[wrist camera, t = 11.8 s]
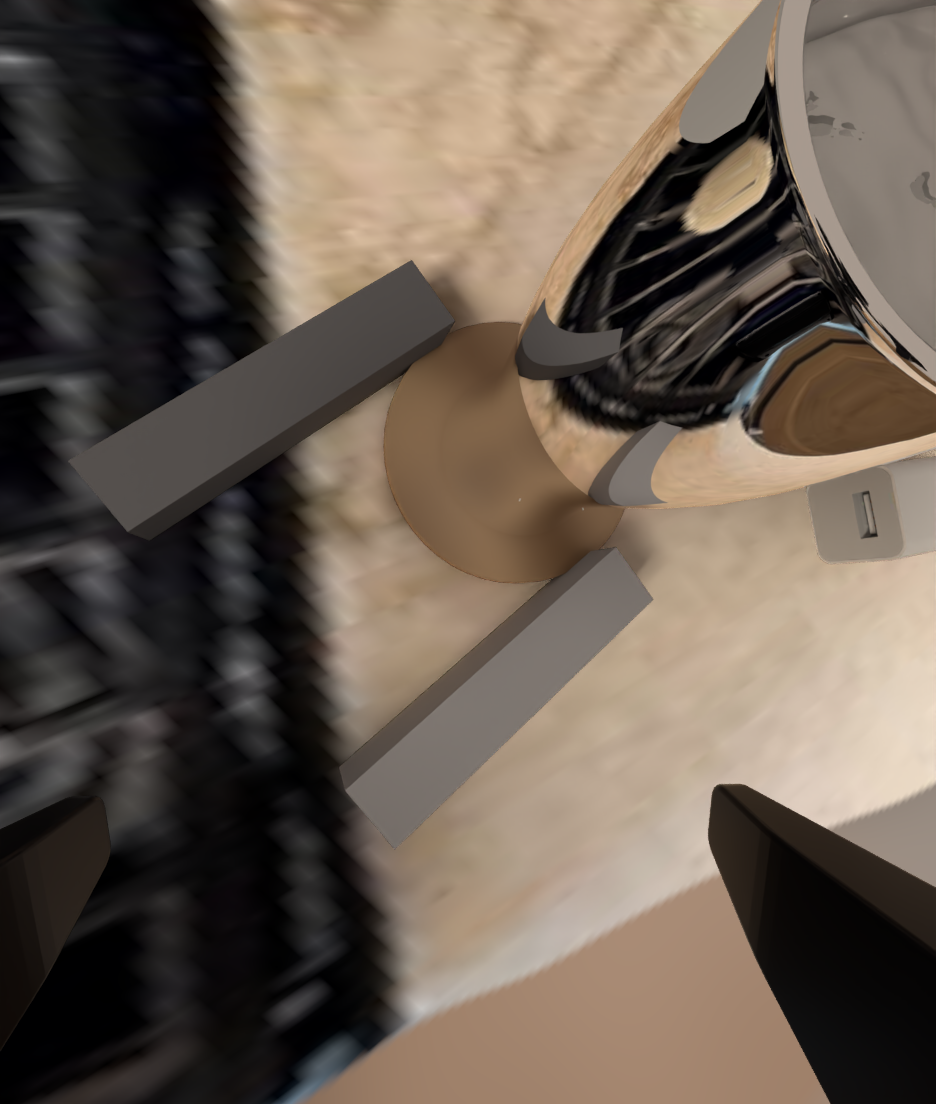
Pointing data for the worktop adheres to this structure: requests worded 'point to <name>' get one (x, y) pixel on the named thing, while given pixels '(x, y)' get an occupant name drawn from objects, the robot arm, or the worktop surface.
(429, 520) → the coaster
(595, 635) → the grey square beam
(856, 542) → the usb wall charger
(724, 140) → the silver metal cup
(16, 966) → the robot arm
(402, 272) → the long grey square rod
